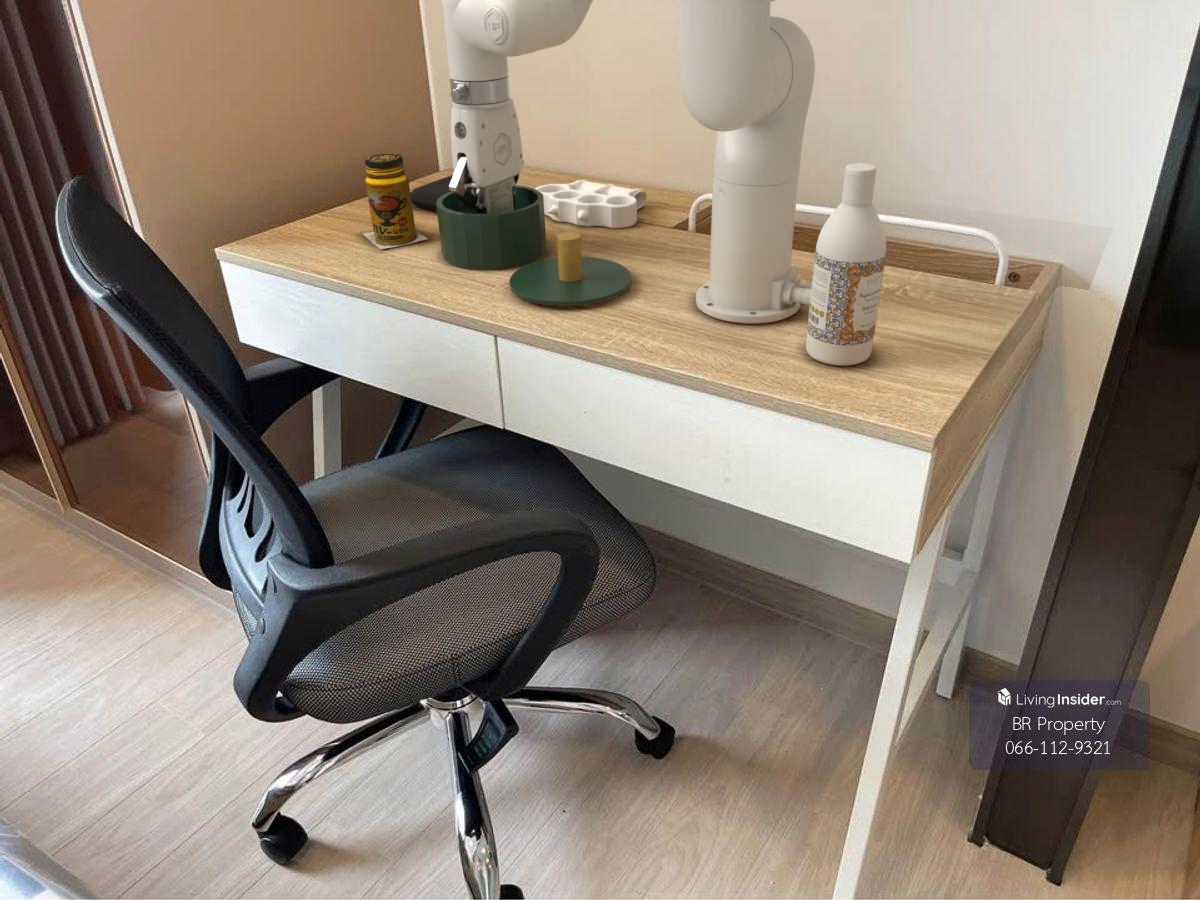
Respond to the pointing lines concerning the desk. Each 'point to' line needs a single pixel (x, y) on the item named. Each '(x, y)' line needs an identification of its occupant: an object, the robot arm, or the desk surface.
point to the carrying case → (430, 193)
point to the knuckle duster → (592, 203)
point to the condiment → (389, 202)
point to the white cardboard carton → (498, 197)
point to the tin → (493, 233)
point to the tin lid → (570, 277)
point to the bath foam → (847, 275)
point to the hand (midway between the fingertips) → (492, 227)
